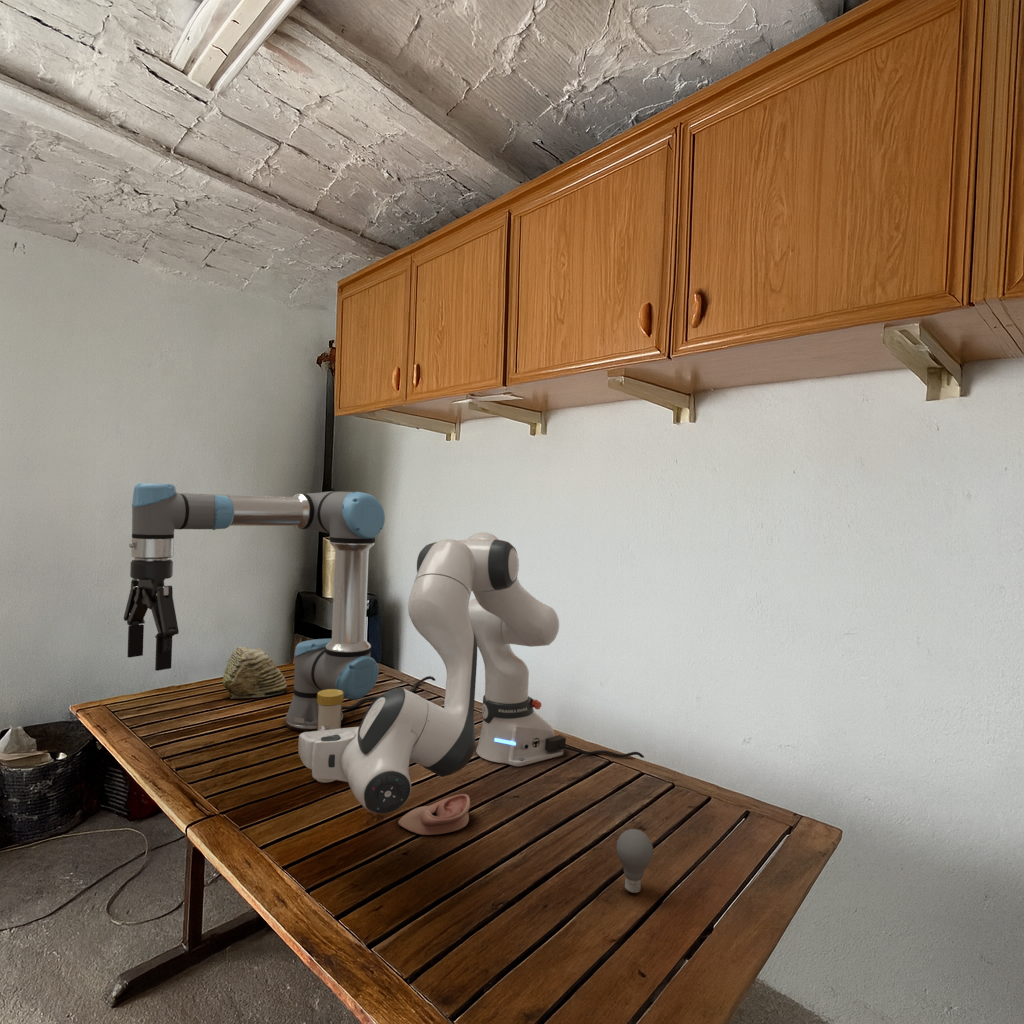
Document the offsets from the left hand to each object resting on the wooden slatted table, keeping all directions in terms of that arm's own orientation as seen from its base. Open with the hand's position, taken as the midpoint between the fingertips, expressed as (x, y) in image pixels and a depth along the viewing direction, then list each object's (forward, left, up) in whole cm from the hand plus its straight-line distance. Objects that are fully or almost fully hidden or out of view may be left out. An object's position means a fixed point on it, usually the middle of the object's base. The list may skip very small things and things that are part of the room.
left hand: (148, 662), depth 129 cm
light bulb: (-41, +90, -28) cm, 103 cm away
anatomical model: (-34, +50, -28) cm, 67 cm away
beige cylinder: (-31, +18, -28) cm, 46 cm away
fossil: (-50, -47, -28) cm, 74 cm away
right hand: (-21, +39, -8) cm, 45 cm away
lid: (-31, +18, -9) cm, 37 cm away
